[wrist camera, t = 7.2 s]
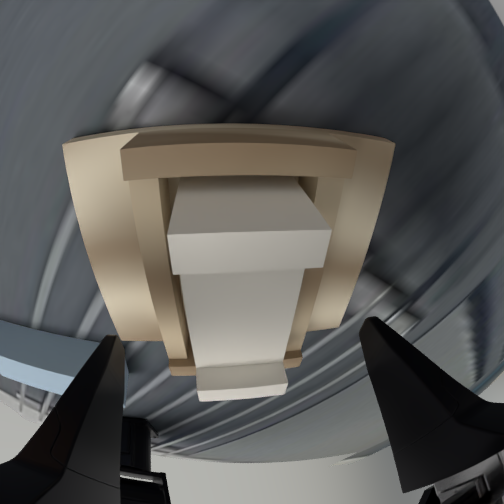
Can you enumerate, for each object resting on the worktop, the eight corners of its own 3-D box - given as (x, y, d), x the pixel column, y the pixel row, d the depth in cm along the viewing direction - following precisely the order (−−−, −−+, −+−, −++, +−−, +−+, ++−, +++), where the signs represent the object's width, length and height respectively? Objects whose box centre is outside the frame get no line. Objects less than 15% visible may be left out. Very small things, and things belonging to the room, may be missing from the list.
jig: (333, 316, 18) (351, 357, 15) (123, 328, 16) (115, 374, 13) (383, 137, 11) (430, 163, 8) (72, 138, 9) (30, 165, 6)
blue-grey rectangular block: (129, 370, 20) (125, 407, 17) (13, 344, 17) (2, 375, 14) (123, 343, 18) (116, 385, 15) (-3, 315, 15) (-18, 348, 12)
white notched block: (266, 320, 16) (284, 393, 12) (197, 325, 15) (199, 401, 11) (285, 167, 11) (331, 230, 7) (182, 168, 10) (167, 235, 6)
